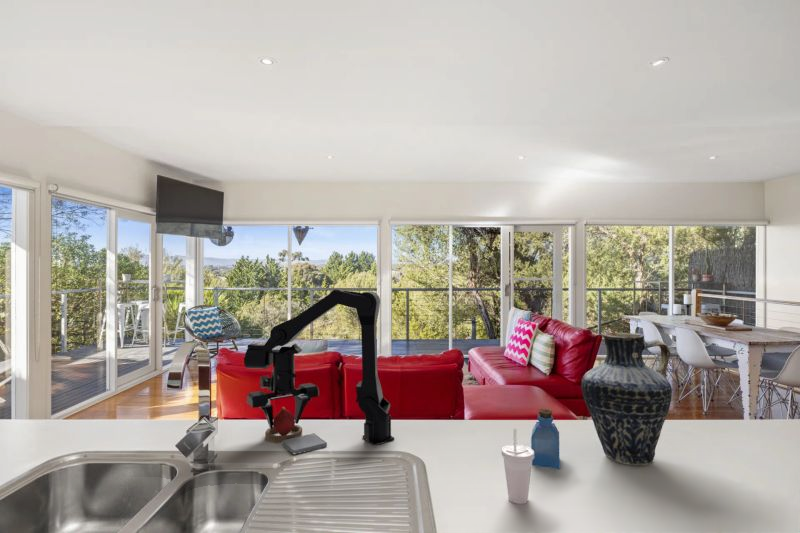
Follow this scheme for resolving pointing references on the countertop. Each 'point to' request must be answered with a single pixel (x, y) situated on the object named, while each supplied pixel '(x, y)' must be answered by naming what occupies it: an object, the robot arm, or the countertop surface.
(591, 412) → the jug
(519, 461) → the smoothie
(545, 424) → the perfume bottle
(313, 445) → the slate tile
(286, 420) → the onion
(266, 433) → the ring
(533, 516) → the countertop surface
